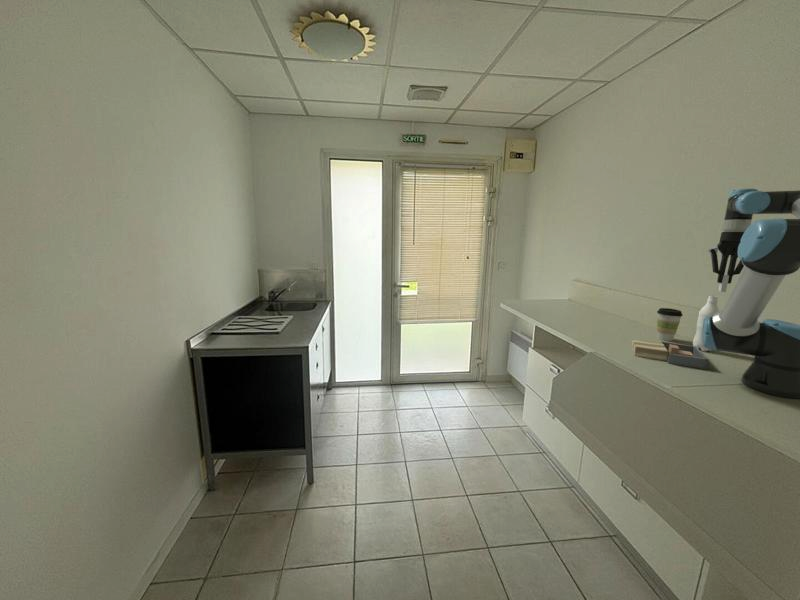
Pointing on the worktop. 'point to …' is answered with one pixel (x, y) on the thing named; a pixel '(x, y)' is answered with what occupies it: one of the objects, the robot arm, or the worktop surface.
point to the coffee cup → (667, 323)
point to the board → (649, 349)
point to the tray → (696, 361)
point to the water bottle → (704, 312)
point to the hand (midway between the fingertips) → (721, 291)
